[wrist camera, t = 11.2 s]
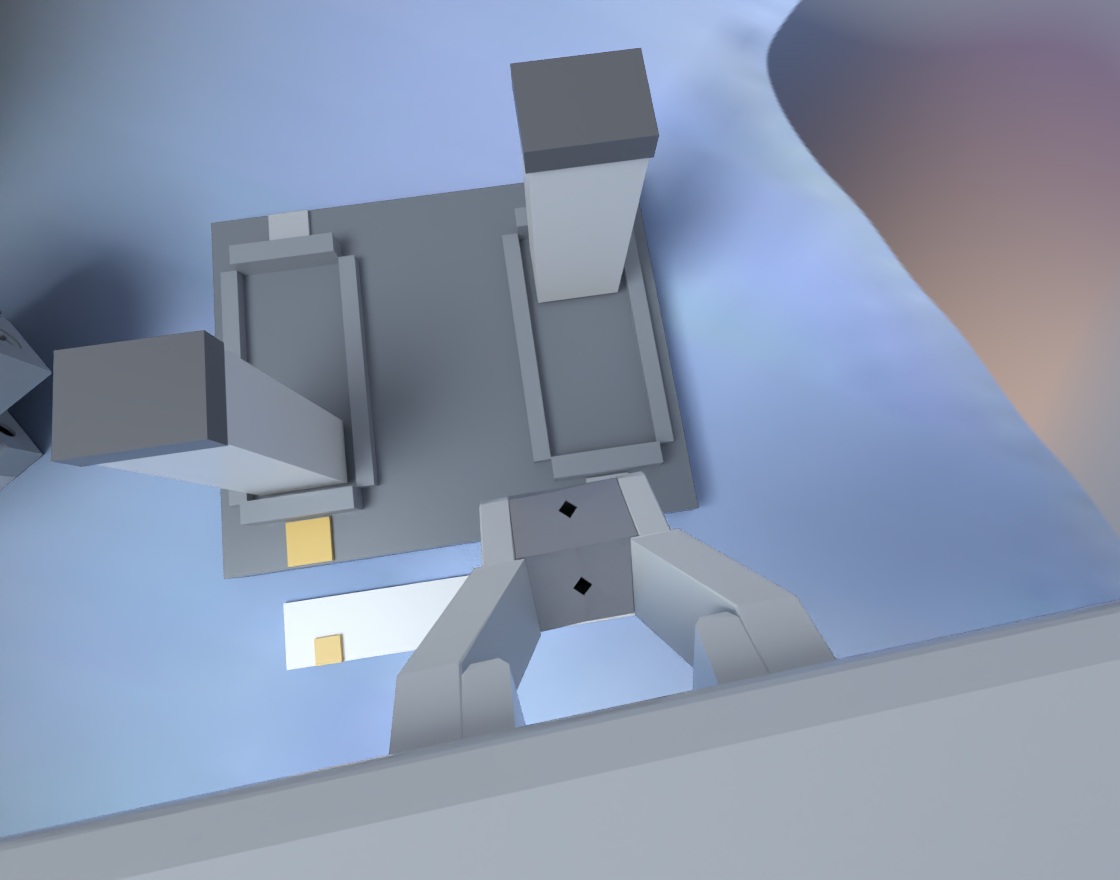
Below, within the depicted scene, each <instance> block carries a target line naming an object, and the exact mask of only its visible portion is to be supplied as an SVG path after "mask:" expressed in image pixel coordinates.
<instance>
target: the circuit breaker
mask: <svg viewBox="0 0 1120 880" xmlns="http://www.w3.org/2000/svg"><path fill="white" fill-rule="evenodd" d="M1 314H2V313H1V311H0V315H1ZM51 374H52V373H51V370H50V369H49V368H48V367H47V366H46V364H45V363H44V362H43V361H42V360H41V359H40V357H39V356H38V355H37V354H36V353H35V351H34V350H33V349H32V348H31V347H30V345H29V344H28V343H27V342H26V341H25V339H24V338H23V337H22V336H21V335H20V333H19V332H18V331H17V330H16V329H15V327H14V326H13V325H12V324H11V323H10V321H9V320H5V319H3V318H2V317H1V316H0V490H1V489H2V488H4V487H5V486H6V485H7V484H8V483H10V482H11V481H12V480H13V479H15V478H16V477H17V476H18V475H20V474H21V473H22V472H23V471H24V470H26V469H27V468H28V467H29V466H31V465H32V464H33V463H34V462H35V461H37V460H38V459H39V458H40V457H41V456H43V455H42V453H41V452H40V450H39V449H38V448H37V447H36V445H35V444H34V443H33V442H32V440H31V439H30V438H29V437H28V435H27V434H26V433H25V432H24V431H23V429H22V428H21V427H20V426H19V424H18V423H17V422H16V421H15V419H14V418H13V417H12V416H11V414H10V413H9V412H8V411H7V409H8V408H9V407H11V406H12V405H13V404H14V403H16V402H17V401H18V400H19V399H21V398H22V397H23V396H24V395H26V394H27V393H28V392H29V391H31V390H32V389H33V388H34V387H36V386H37V385H38V384H39V383H41V382H42V381H43V380H44V379H46V378H47V377H48V376H49V375H51Z"/></svg>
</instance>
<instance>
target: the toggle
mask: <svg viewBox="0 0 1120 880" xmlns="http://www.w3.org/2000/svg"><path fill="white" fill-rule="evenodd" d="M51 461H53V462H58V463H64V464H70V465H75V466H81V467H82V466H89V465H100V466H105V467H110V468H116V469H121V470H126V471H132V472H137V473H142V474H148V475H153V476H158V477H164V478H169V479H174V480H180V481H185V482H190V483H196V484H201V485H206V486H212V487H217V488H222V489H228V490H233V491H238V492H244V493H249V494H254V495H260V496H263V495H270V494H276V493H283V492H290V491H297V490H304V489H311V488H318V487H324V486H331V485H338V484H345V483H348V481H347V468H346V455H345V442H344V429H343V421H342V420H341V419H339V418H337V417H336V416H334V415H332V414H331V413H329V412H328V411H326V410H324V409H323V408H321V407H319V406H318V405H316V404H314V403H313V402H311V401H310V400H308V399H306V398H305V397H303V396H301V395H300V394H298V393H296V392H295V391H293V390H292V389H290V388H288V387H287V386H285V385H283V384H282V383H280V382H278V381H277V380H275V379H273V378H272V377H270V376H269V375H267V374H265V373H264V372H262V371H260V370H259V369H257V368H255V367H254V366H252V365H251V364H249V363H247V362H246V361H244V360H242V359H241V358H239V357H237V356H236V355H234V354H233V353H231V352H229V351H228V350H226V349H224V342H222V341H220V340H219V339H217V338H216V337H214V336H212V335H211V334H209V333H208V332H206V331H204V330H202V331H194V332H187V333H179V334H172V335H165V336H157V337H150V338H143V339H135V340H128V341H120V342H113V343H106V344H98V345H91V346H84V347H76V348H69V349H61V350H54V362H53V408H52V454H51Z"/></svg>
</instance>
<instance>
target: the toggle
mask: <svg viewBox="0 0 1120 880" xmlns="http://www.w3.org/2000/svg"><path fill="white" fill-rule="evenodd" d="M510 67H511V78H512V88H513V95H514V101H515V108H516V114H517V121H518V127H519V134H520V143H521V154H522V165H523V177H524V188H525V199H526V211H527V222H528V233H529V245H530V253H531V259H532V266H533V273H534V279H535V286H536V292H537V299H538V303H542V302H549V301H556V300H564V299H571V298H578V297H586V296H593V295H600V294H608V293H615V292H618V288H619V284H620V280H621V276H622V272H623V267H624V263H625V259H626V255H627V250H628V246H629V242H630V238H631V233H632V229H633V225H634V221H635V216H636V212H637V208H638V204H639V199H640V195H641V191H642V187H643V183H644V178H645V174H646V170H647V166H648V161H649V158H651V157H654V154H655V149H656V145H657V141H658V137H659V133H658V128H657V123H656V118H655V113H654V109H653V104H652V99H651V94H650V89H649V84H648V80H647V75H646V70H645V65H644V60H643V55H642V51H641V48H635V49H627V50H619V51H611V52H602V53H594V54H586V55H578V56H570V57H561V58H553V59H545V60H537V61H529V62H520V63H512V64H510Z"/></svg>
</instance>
